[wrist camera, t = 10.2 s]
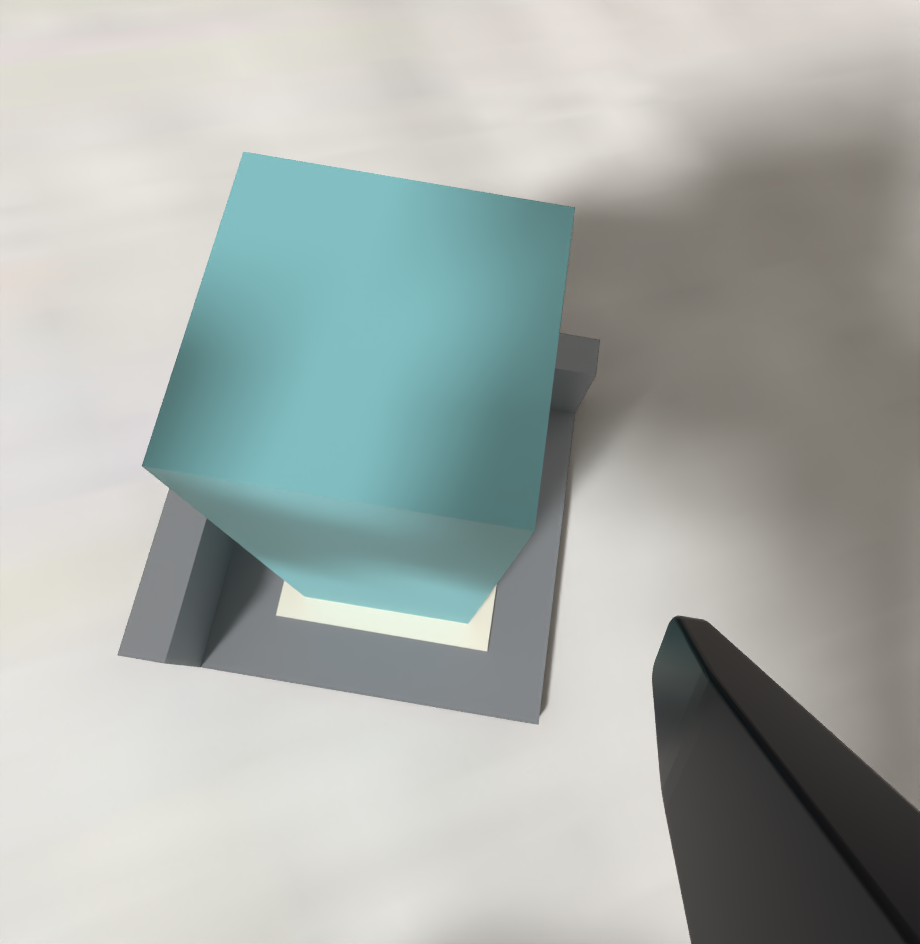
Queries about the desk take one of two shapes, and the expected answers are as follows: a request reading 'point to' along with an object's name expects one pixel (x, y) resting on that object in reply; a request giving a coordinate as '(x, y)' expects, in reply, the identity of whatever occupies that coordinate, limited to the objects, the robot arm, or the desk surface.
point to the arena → (356, 627)
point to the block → (370, 383)
